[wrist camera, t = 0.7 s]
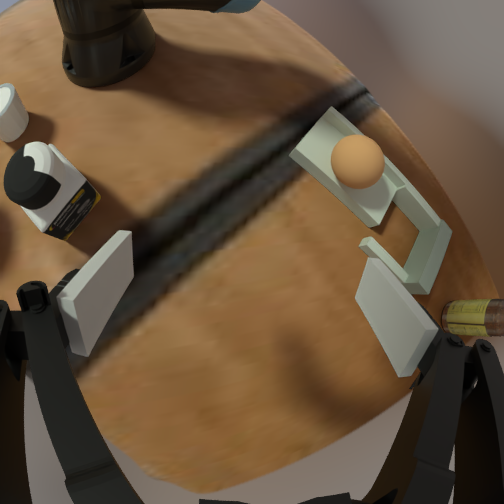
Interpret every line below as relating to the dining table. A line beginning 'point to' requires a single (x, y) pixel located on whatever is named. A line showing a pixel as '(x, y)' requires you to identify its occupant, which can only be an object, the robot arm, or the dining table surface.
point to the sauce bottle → (474, 317)
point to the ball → (357, 161)
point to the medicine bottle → (49, 189)
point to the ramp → (378, 203)
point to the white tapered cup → (11, 114)
